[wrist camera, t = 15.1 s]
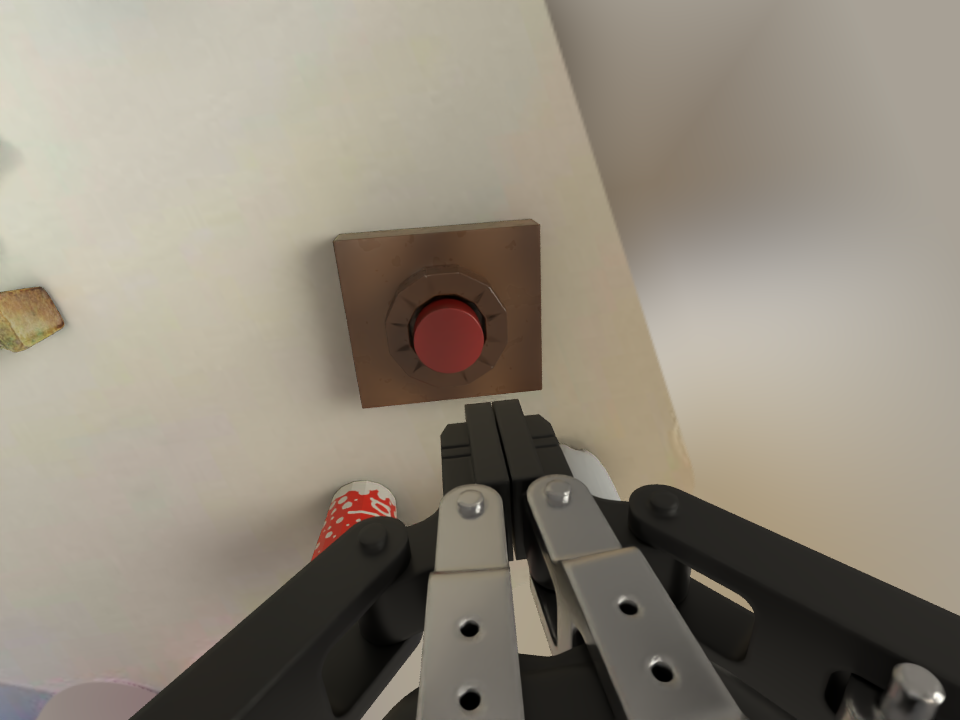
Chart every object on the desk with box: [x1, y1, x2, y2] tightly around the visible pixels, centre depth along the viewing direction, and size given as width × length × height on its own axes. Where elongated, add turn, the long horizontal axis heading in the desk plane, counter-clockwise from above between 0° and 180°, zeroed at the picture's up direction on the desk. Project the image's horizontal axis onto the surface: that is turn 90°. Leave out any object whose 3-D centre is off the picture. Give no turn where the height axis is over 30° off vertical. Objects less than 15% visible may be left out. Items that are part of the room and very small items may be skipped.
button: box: [414, 299, 484, 373], centre depth 26 cm, size 4×4×2 cm
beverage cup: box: [311, 481, 397, 561], centre depth 29 cm, size 6×6×14 cm
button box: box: [333, 219, 542, 408], centre depth 29 cm, size 11×10×4 cm
